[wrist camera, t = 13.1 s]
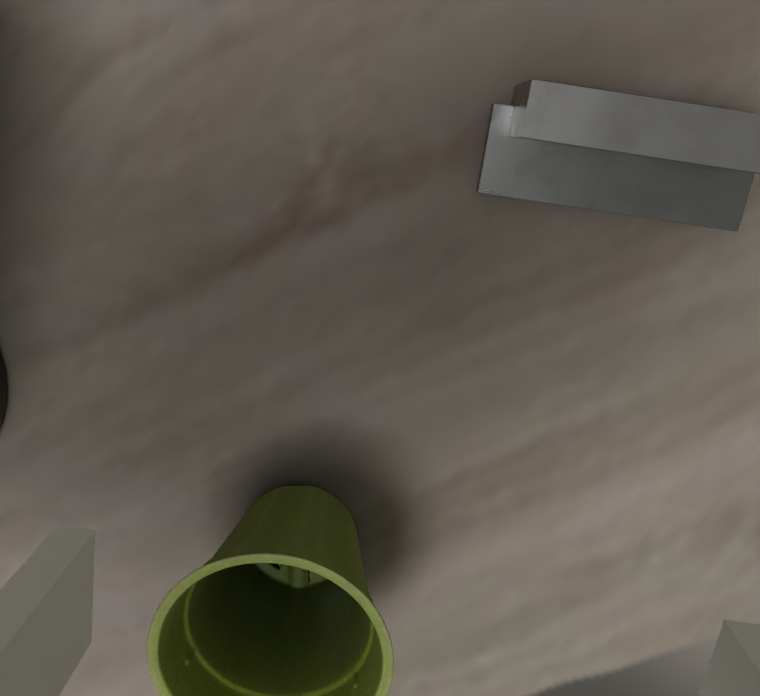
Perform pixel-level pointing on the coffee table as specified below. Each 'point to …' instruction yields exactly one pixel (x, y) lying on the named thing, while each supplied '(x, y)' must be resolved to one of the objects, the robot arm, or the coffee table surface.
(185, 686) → the plant pot
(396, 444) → the coffee table surface
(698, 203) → the vise
